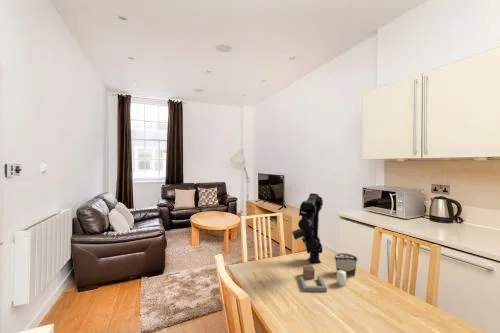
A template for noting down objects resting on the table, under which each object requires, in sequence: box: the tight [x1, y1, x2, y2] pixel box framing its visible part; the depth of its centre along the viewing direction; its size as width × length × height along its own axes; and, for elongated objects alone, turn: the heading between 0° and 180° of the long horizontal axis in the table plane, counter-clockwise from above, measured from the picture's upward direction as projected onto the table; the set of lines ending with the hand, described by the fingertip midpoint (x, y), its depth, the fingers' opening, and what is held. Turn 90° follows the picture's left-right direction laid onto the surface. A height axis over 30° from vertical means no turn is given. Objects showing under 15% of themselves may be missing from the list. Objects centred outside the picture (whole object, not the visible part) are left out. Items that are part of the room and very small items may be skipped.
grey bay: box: [298, 275, 328, 293], centre depth 114 cm, size 12×11×2 cm
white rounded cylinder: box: [336, 270, 347, 287], centre depth 116 cm, size 4×4×6 cm
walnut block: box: [302, 264, 315, 280], centre depth 123 cm, size 5×5×5 cm
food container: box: [333, 252, 359, 277], centre depth 127 cm, size 12×6×10 cm, turn 84°
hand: (308, 252), depth 125 cm, fingers closed
